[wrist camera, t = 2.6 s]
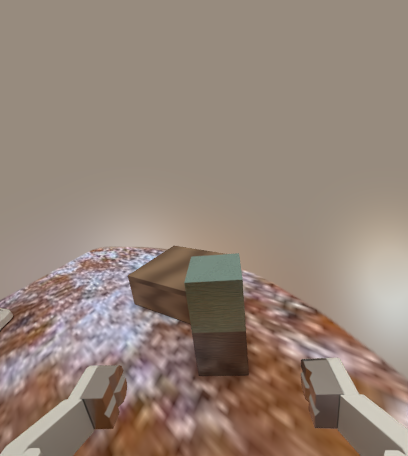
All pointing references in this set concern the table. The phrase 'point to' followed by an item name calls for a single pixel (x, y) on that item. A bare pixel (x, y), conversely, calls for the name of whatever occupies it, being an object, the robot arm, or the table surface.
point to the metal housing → (217, 314)
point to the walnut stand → (165, 282)
